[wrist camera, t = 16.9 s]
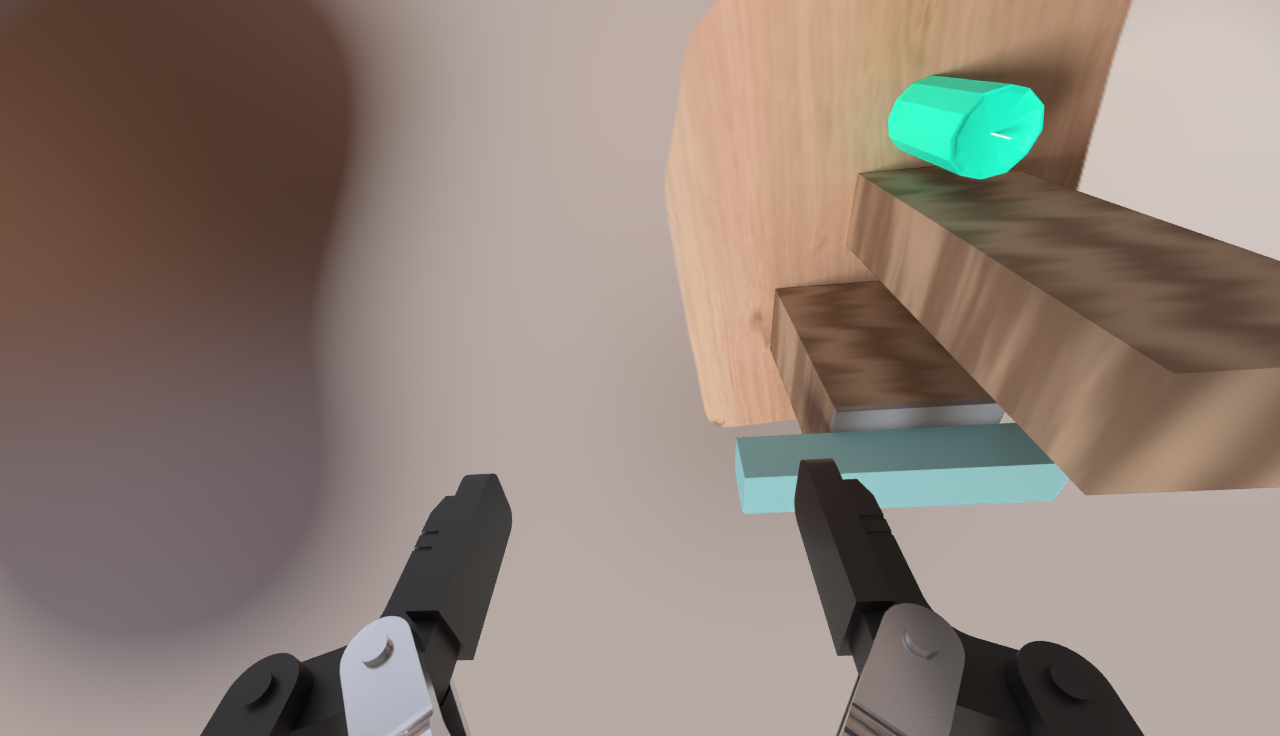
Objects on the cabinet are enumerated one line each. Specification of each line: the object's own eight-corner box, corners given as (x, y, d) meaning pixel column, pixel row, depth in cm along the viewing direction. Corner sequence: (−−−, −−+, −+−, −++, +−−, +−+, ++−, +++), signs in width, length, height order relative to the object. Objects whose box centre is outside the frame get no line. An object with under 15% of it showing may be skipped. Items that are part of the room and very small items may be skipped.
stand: (846, 245, 47) (1085, 495, 21) (858, 173, 43) (1173, 373, 17) (967, 235, 46) (1375, 483, 20) (991, 161, 42) (1541, 352, 16)
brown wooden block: (770, 349, 55) (822, 484, 38) (775, 289, 50) (836, 412, 33) (873, 342, 54) (972, 477, 37) (887, 280, 49) (1009, 402, 32)
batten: (735, 472, 37) (742, 513, 34) (736, 437, 35) (744, 478, 32) (1017, 459, 36) (1053, 501, 32) (1038, 421, 33) (1079, 462, 30)
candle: (968, 124, 40) (1068, 149, 31) (899, 166, 42) (973, 202, 33) (949, 58, 38) (1053, 62, 28) (877, 106, 40) (950, 126, 30)
